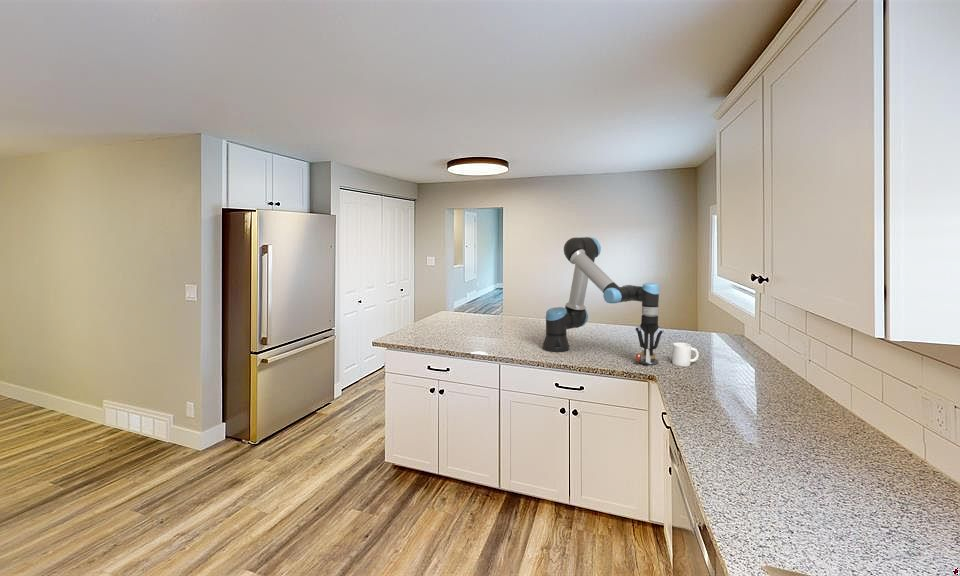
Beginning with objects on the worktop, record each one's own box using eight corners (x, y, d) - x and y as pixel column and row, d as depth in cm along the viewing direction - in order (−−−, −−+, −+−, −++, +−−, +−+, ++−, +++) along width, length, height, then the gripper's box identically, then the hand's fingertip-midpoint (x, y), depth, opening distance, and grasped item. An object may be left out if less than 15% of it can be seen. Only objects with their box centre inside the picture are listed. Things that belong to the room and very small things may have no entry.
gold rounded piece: (646, 356, 218) (646, 349, 218) (658, 359, 212) (658, 352, 212) (630, 360, 212) (631, 352, 211) (642, 363, 206) (643, 356, 205)
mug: (696, 363, 211) (697, 343, 210) (700, 368, 203) (701, 347, 202) (670, 361, 214) (671, 342, 212) (674, 366, 206) (675, 346, 204)
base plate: (633, 362, 214) (633, 359, 214) (642, 358, 220) (643, 355, 220) (652, 366, 206) (652, 363, 206) (661, 362, 213) (661, 359, 213)
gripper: (633, 314, 204) (632, 361, 207) (661, 317, 196) (659, 366, 199) (638, 312, 210) (637, 358, 213) (666, 315, 202) (664, 362, 205)
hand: (648, 361), depth 206 cm, fingers closed
